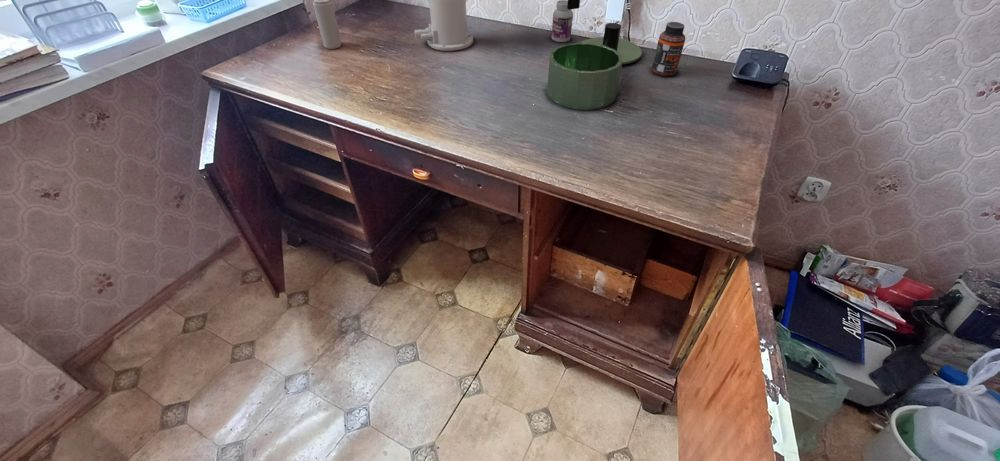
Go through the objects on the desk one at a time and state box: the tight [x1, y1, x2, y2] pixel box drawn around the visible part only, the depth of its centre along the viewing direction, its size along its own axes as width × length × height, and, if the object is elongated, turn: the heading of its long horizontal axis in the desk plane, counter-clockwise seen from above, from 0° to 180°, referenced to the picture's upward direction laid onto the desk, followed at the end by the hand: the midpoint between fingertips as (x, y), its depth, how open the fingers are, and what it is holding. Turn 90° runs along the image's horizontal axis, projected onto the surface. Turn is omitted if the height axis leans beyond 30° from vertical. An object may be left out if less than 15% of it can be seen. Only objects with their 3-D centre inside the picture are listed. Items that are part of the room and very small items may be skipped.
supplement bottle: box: [651, 21, 686, 77], centre depth 111 cm, size 6×6×11 cm
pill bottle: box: [551, 0, 574, 43], centre depth 127 cm, size 5×5×10 cm
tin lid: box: [580, 22, 643, 65], centre depth 120 cm, size 17×17×7 cm
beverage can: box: [312, 0, 343, 50], centre depth 123 cm, size 5×5×12 cm
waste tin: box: [546, 42, 624, 111], centre depth 104 cm, size 16×16×8 cm
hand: (565, 2), depth 124 cm, fingers open, 9 cm apart
